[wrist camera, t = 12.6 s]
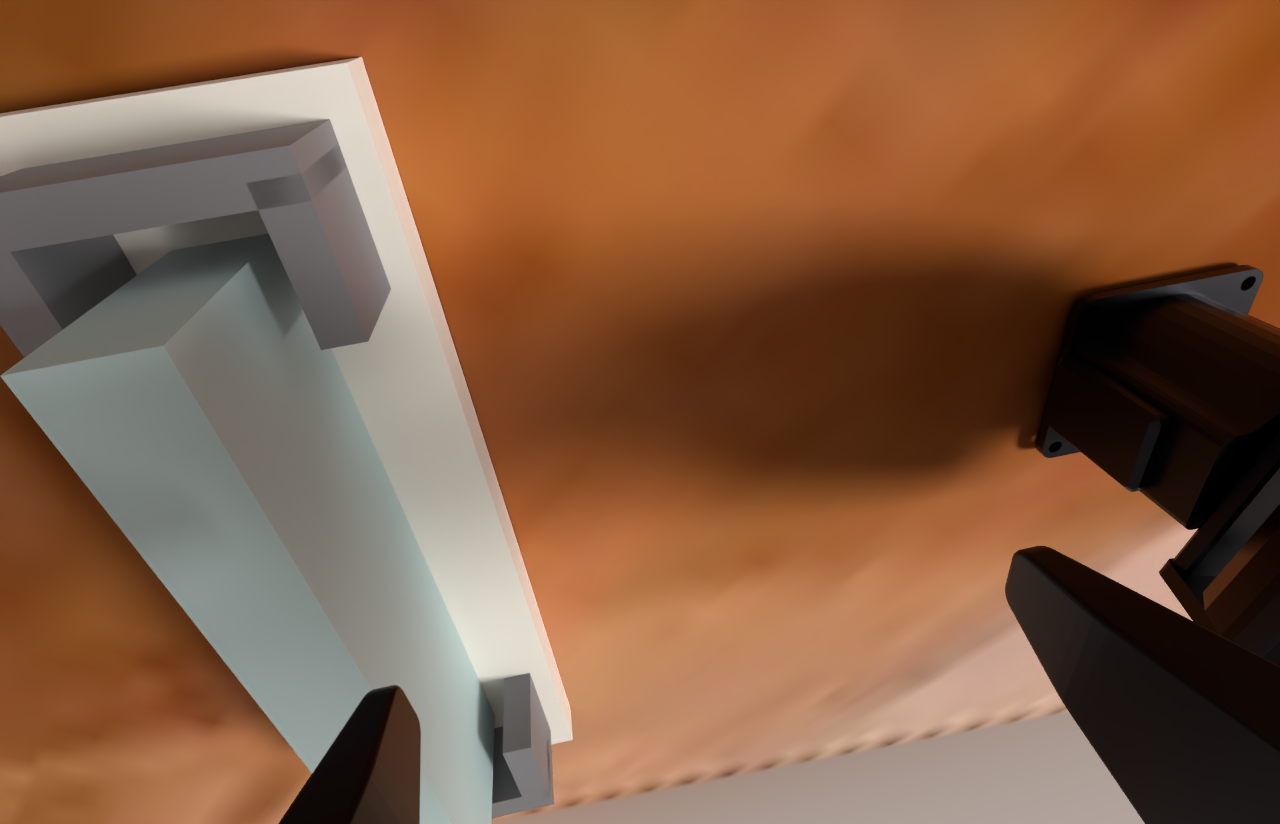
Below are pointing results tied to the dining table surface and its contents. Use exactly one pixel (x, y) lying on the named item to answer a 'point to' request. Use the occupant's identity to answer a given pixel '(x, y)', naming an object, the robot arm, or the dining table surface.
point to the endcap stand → (331, 299)
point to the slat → (263, 504)
